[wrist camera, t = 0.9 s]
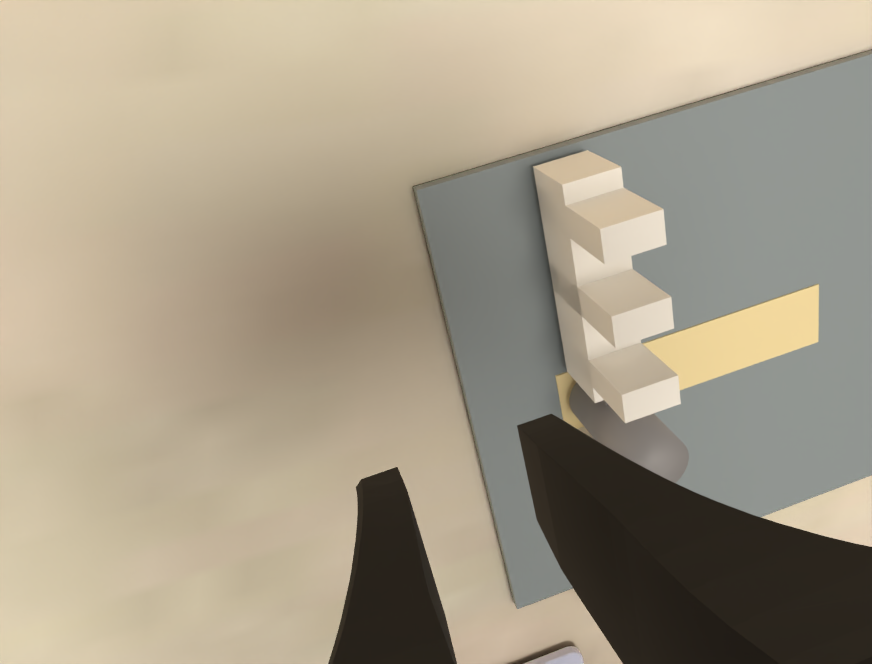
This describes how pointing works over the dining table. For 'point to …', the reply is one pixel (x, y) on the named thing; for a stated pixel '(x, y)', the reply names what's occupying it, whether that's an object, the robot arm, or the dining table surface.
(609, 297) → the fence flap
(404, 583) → the robot arm
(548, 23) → the dining table surface
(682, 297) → the board
